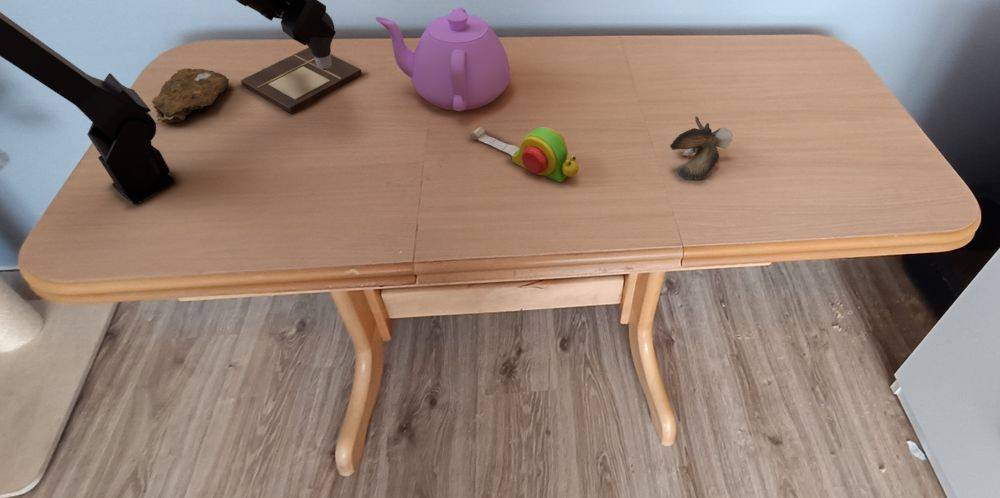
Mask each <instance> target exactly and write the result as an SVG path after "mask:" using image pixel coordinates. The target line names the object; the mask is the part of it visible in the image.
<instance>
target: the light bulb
mask: <svg viewBox="0 0 1000 498" xmlns="http://www.w3.org/2000/svg"><path fill="white" fill-rule="evenodd" d="M323 19H324V20H325V21H326V22H327V23H328V24H329V25H330V26H331V27H332V28H333V29H334V30H335V23H334V21H333V19H332V16H331V15H330V14H329V13H328V12H327V11H326V12H325V14H324V16H323ZM335 31H336V30H335ZM333 40H334V37H333V38H312V39H311V40H310V42H309V44H307V45H306V46H307V48H308V47H309V48H310V49H311V51H312V54H313V55H314V57H315V61H316V64H317V67H319V68H321V69H323V70H328V68H329V67H330V66H331V65H332V61H331V55H332V54H331V52H332V50H331V47H332V42H333Z"/></svg>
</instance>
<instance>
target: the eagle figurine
mask: <svg viewBox="0 0 1000 498" xmlns="http://www.w3.org/2000/svg"><path fill="white" fill-rule="evenodd" d="M694 119H695V123H696V126H697V127H698V128H696V127H693V128H690V129H688V130H685V131H683V132H682V133H680V134H679V135H678V136H677V137H675V139H673V141H672V143H670V145H669V147H670V149H671V151H675V150H685V151H684V152H683V154H682V157H684V156H690V155H692V154H694V155H693V156H692V157H691V158H690V159H689V160H688V161H687V162H685V163H684V164H682V165H681V166H680V167H679V168H677V172H678V175H679V176H680V178H681V179H683V180H689V181H692V180H695V181H697V180H702V179H704V178H706V177H708V175H709V174H710V173H711V171H712V170H713V168H714V167H715V166H716V164H717V163H718V162H719V160H720V154H719V151H718V148H721V149H727V148H729V146H730V145H731V143H732V142H733V137H734V134H733V133H732V131H731V130H730V129H729V128H727V127H719V128H718V129H716V130H715V131H713V130H712V129H711V127H710V123H709V122H706V124H704V125H703V124H702V123H701V121H700V118H699V116H697V115H696V116H695V117H694ZM712 131H713V132H712Z"/></svg>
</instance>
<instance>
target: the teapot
mask: <svg viewBox="0 0 1000 498" xmlns="http://www.w3.org/2000/svg"><path fill="white" fill-rule="evenodd" d="M375 21H377V22H378V23H379V24H380V25H382V26H383V27H384V28H385V29H386V31H387V32H388V34H389V36H390V39H391V43H392V49H393V55H394V59H395V62H396V64H397V65H398V68H399V69H400V71H402V72H403V74H405V75H406V76H408V77H409V78H411V84H412V86H413V87H414V89H415V91H416V92H417V93H418V95H420V96H421V97H422V98H423V99H424V100H426V101H427V102H428V103H430V104H431V105H434V106H436V107H438V108H442V109H445V110H450V111H451V110H453V111H456V112H463V111H467V110H473V109H474V110H475V109H478V108H481V107H484V106H487V105H488V104H490V103H491V102H493V101H495V100H496V99H498V97H499V96H500V95H501V94H503V92H504V91H505V90H506V88H507V87H508V86H509V85H508V84H509V82H510V79H511V67H510V62H509V59H508V55H507V52H506V50H505V47H504V46H503V43H502V42H501V40H500V38H499V37H498V35H497V34H496V32H495V31H494V29H493V28H492V27H491V25H489V23H488V22H487V21H486V20H484V19H483V18H482V17H479V16H476V15H472V14H468V13H467V12H466V9H465V8H463V7H455V8H453V9H452V11H451V12H449V13H447V14H446V15H442V16H440V17H438V18H435V19H434V20H432V21H431V22H430V23H429V24H428V25H427V27H426V28H425V30H424V31H423V33H422V35H421V36H420V38H419V41H418V42H417V45H416V47H415V49H414V51H412V50H411V49H409V48H408V46H407V45H406V43H405V41H404V37H403V34H402V30H401V29H400V26H399V25H398V24H397V23H396V22H395V21H393V20H391V19H389V18H386V17H381V16H376V17H375Z"/></svg>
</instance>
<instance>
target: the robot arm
mask: <svg viewBox="0 0 1000 498" xmlns="http://www.w3.org/2000/svg"><path fill="white" fill-rule="evenodd" d="M235 1H236V2H237V3H239V4H240V5H242V6H244V7H248V8H250V9H252V10H254V11H255V12H257V13H259V15H260V16H263V17H264V18H265V19H267V20H269V21H271V22H272V21H273V19H279V20H280V26H281V30H282V32H283V33H285V34H286V35H287V36H289V37H290V38H291V39H293V40H294V41H295V42H297V43H300V44H301V45H303V46H307V44H309V42H310V40H311V39H312V38H333V39H334V37H335V35H336V30H334V29H335V28H334V29H333V28H332V27H331V26H330V25H329V24H328V23H327V22H326V21H325V20H324V19H323V16H324V14H325V12H326V13H327V5H326V4H325V3H322V2H320V0H235ZM0 58H2V59H4V60H5V61H7V62H9V63H10V64H11V65H13V66H15V67H16V68H18V69H19V70H21V71H22V72H24V73H25V74H27V75H28V76H30V77H32V78H33V79H35V80H36V81H38V82H39V83H40V84H42V85H43V86H45V87H47V88H48V89H50V90H52V91H53V92H54V93H55V94H58V95H59V96H60V97H62V98H64V99H65V100H67V101H68V102H69V103H71V104H73V105H74V106H75V107H76V108H77V109H78V110H79V111H80V112H81V113H83V115H84V116H86V117H87V119H89V121H90V122H91V125H90V128H89V130H88V132H87V134H86V135H87V137H88V138H89V140H90V141H91V143H92V144H93V146H94V147H95V149H96V150H97V152H98V153H99V154H100V155H99V156H98V157H97V158H98V160H99V161H100V163H101V164H102V166H103V168H104V169H105V171H106V172H107V174H108V176H109V177H110V179H111V180H112V182H113V183H112V184H111V185H112V187H113V188H114V189H115V190H116V191H117V192H119V194H121V195H122V196H123V197H124V198H126V200H128V201H129V202H130V203H132V204H133V205H137V204H139V203H141V202H143V201H145V200H146V199H149V198H150V197H152V196H154V195H155V194H157V193H159V192H161V191H163V190H165V189H167V188H168V187H170V186H172V185H174V184H175V183H176V179H175V177H173V176H171V175H170V174H171V169H170V168H169V166H168V164H167V163H166V160H165V158H164V156H163V154H162V153H161V151H160V150H159V149H157V148H156V146H153V144H152V140H153V139H154V137H155V135H156V132H157V123H156V121H155V119H154V118H153V117H152V115H150V112H151V111H152V110H151V109H150V107H149V106H148V105H147V103H146V102H145V101H144V100H143V99H142V98H141V97H140V95H139V94H138V93H137V91H135V89H132V88H130V87H127V86H125V85H124V84H122V83H121V82H120V81H119V80H118V79H117V78H116V77H115V76H114V75H113V74H112V73H111V72H110V73H108V74H107V75H106V77H105V78H104V79H100V78H97V77H94V76H92V75H89V74H88V73H86V72H85V71H83V70H82V69H80V68H79V67H78V66H76V65H75V64H74V63H73V62H71V61H69V60H68V59H67V58H66V57H64V56H62V55H61V54H60V53H58V52H57V51H56V50H54V49H52V48H51V47H50V46H49V45H47V44H45V43H44V42H42V40H40V39H39V38H37V37H36V36H35V35H33V34H32V33H30V32H29V31H27V30H26V29H25V28H24V27H22V26H20V25H19V24H18V23H17V22H15V21H14V20H12V19H11V18H9V17H8V16H7V15H5V14H4V13H2V12H1V11H0Z"/></svg>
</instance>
